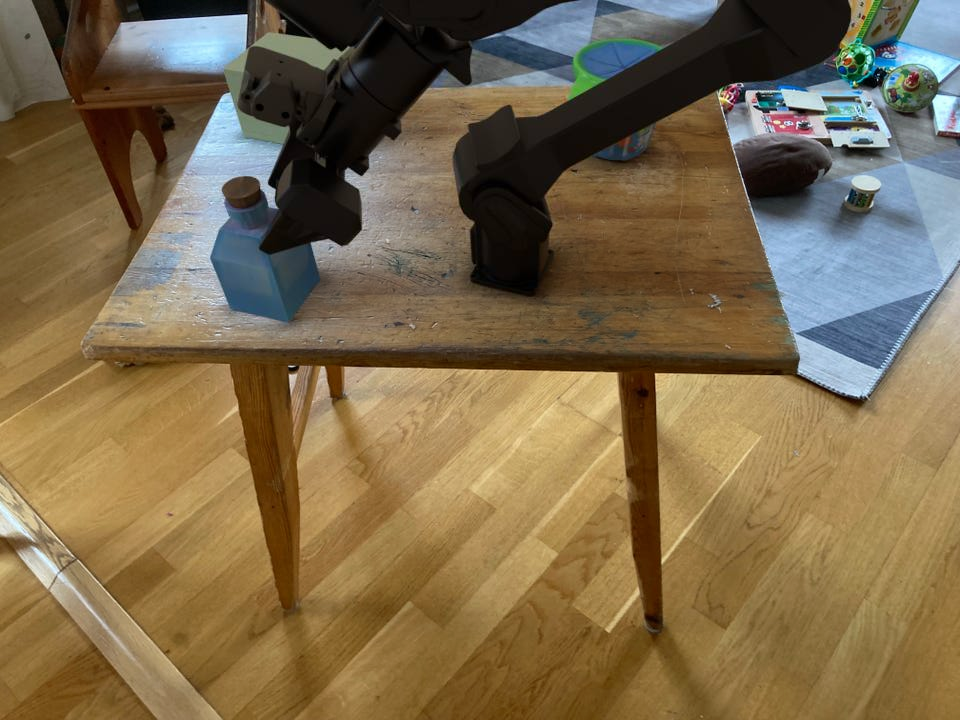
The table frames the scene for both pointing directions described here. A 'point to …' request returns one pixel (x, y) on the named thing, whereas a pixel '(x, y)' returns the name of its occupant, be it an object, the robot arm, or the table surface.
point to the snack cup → (602, 64)
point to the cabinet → (282, 44)
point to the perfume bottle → (259, 257)
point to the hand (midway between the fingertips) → (268, 217)
